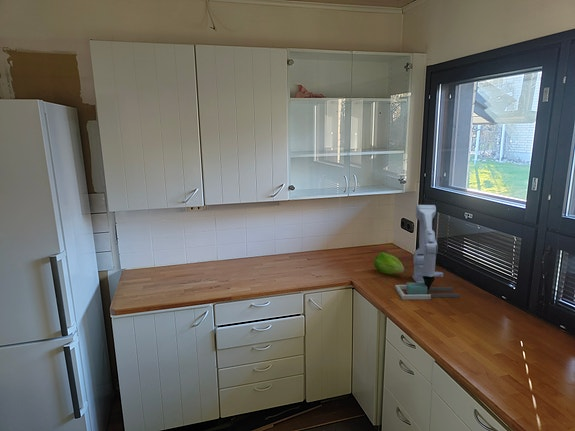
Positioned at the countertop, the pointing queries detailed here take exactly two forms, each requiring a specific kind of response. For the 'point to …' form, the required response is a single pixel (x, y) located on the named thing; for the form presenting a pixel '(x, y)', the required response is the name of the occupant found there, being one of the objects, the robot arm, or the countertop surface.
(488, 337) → the countertop surface
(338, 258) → the countertop surface
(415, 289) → the teal block
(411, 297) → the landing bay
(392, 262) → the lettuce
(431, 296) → the parallel guide rails
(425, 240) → the robot arm
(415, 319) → the countertop surface
